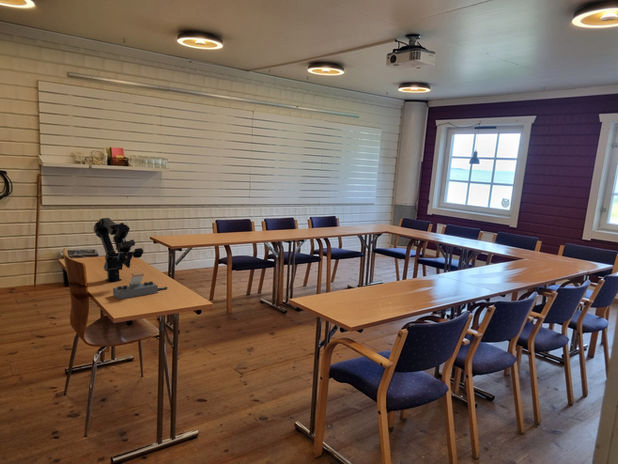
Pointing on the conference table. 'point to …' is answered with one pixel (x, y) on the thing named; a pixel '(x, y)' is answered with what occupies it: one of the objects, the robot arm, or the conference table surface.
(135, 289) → the breaker box
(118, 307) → the conference table surface
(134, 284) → the lever
